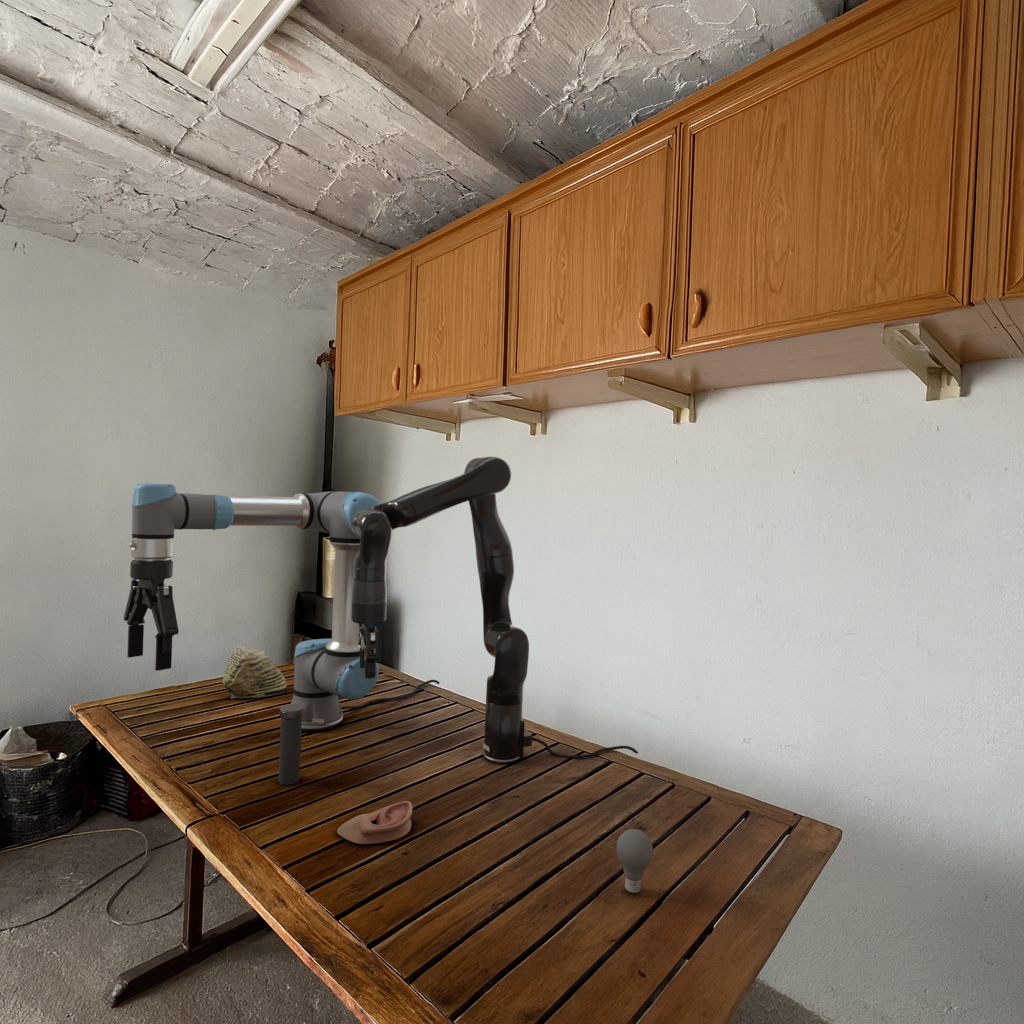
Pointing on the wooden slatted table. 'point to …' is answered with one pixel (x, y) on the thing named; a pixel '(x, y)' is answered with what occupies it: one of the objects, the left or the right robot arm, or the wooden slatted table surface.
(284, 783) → the dark grey cylinder
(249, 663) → the fossil
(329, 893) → the wooden slatted table surface
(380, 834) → the anatomical model
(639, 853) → the light bulb
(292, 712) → the lid
